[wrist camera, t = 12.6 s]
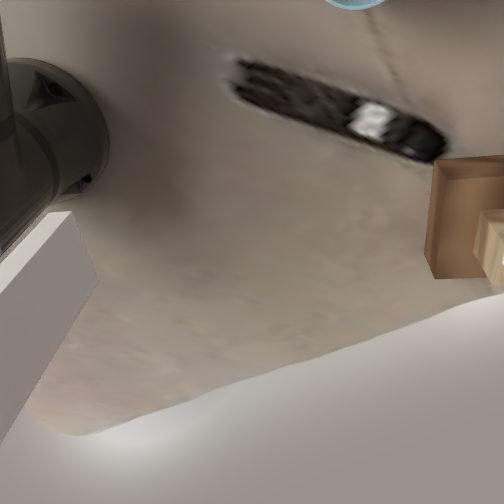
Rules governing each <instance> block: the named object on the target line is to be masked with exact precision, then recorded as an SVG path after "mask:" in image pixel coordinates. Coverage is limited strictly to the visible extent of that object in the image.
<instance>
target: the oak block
mask: <svg viewBox="0 0 504 504" xmlns="http://www.w3.org/2000/svg"><path fill="white" fill-rule="evenodd" d="M473 253H474V255H475V256H476V258H477V260H478V262H479V263H480V265H481V267H482V268H483V270H484V272H485V274H486V275H487V277H488V279H489V281H490V282H491V284H492V286H493V287H504V265H503V263H502V260H503V256H504V209H493V210H480V215H479V221H478V226H477V232H476V237H475V243H474V248H473Z"/></svg>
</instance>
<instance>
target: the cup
mask: <svg viewBox="0 0 504 504" xmlns="http://www.w3.org/2000/svg"><path fill="white" fill-rule="evenodd" d="M325 1H327V2H328V3H330V4H332V5H333V6H336V7H338V8H342V9H346V10H363V9H368V8H371V7H374V6H376V5H378V4H380V3H382V2H384V1H385V0H325Z"/></svg>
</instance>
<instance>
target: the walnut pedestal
mask: <svg viewBox="0 0 504 504" xmlns="http://www.w3.org/2000/svg"><path fill="white" fill-rule="evenodd" d="M493 209H504V155H495V156H482V157H469V158H456V159H443V160H434V169H433V179H432V188H431V197H430V207H429V216H428V225H427V234H426V244H425V253H424V254H425V257H426V259H427V262H428V264H429V266H430V269H431V271H432V274H433V276H434V278H435V279H453V278H476V277H487V275H486V274H485V272H484V270H483V268H482V267H481V265H480V263H479V262H478V260H477V258H476V256H475V255H474V253H473V248H474V243H475V237H476V232H477V226H478V221H479V215H480V210H493Z"/></svg>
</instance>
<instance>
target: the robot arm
mask: <svg viewBox="0 0 504 504" xmlns="http://www.w3.org/2000/svg"><path fill="white" fill-rule="evenodd" d="M108 155H109V136H108V131H107V127H106V123H105V121H104V118H103V116H102V113H101V111H100V109H99V108H98V106H97V104H96V103H95V101H94V100H93V98H92V97H91V96H90V94H89V93H88V92H87V91H86V90H85V89H84V88H83V87H82V85H80V84H79V83H78V82H77V81H76V80H75V79H74V78H72V77H71V76H70V75H68V74H67V73H65V72H64V71H62V70H61V69H59V68H57V67H55V66H53V65H51V64H48V63H46V62H42V61H39V60H35V59H29V58H12V59H7V58H6V51H5V44H4V37H3V30H2V23H1V16H0V257H1V255H2V254H3V253H4V252H5V251H6V250H7V249H8V248H9V247H10V246H11V245H12V244H13V243H14V242H15V240H16V239H17V238H18V237H19V236H20V235H21V234H22V233H23V232H24V231H25V230H26V229H27V228H28V227H29V225H30V224H31V223H32V222H33V221H34V220H35V219H36V218H37V217H38V216H39V215H40V214H41V213H42V212H43V211H44V209H45V208H46V207H47V206H50V205H53V204H56V203H59V202H63V201H66V200H69V199H72V198H74V197H76V196H78V195H80V194H82V193H83V192H85V191H86V190H87V189H88V188H89V187H90V186H91V185H92V184H93V183H94V182H95V181H96V180H97V179H98V177H99V176H100V175H101V173H102V172H103V170H104V168H105V165H106V163H107V160H108ZM502 263H503V265H504V256H503V260H502ZM97 283H98V279H97V276H96V273H95V271H94V268H93V266H92V263H91V260H90V258H89V255H88V253H87V250H86V247H85V245H84V242H83V239H82V237H81V234H80V232H79V229H78V226H77V224H76V221H75V219H74V216H73V213H72V211H67V212H53V213H48V214H47V215H46V216H45V217H44V219H43V220H42V221H41V222H40V223H39V224H38V225H37V226H36V227H35V228H34V229H33V230H32V231H31V232H30V233H29V234H28V235H27V237H26V238H25V239H24V240H23V241H22V242H21V243H20V244H19V245H18V246H17V247H16V248H15V249H14V250H13V251H12V252H11V253H10V254H9V256H8V257H7V258H6V259H5V260H4V261H3V262H2V263H1V264H0V444H1V442H2V441H3V439H4V438H5V436H6V434H7V432H8V431H9V429H10V427H11V426H12V424H13V423H14V421H15V419H16V418H17V416H18V414H19V412H20V411H21V409H22V408H23V406H24V404H25V403H26V401H27V399H28V398H29V396H30V394H31V393H32V391H33V389H34V388H35V386H36V384H37V383H38V381H39V379H40V378H41V376H42V374H43V373H44V371H45V369H46V368H47V366H48V364H49V363H50V361H51V359H52V358H53V356H54V354H55V353H56V351H57V349H58V348H59V346H60V344H61V343H62V341H63V339H64V338H65V336H66V334H67V333H68V331H69V329H70V328H71V326H72V324H73V323H74V321H75V320H76V318H77V316H78V315H79V313H80V311H81V310H82V308H83V306H84V305H85V303H86V301H87V300H88V298H89V296H90V295H91V293H92V291H93V290H94V288H95V286H96V285H97Z"/></svg>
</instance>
